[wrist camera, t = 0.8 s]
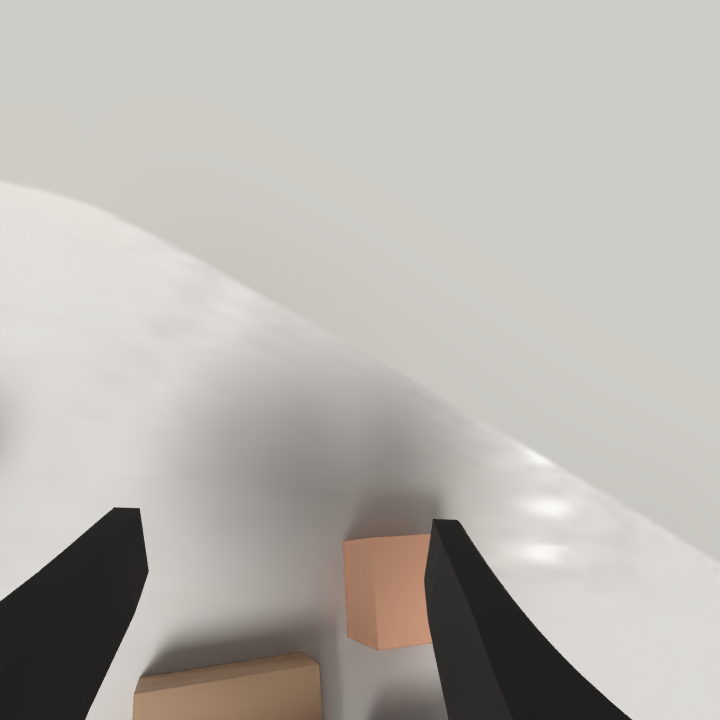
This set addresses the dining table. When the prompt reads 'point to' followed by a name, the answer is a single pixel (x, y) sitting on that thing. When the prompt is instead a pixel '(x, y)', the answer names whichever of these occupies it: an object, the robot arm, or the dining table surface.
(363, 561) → the terracotta block
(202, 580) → the dining table surface
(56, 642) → the robot arm
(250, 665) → the walnut base block
